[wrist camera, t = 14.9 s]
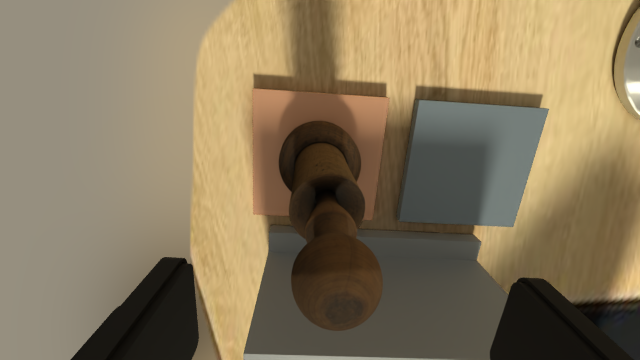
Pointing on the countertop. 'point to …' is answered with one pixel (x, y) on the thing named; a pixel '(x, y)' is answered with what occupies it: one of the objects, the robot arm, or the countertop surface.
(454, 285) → the upright grey panel
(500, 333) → the robot arm
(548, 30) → the countertop surface
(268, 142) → the tile terracotta
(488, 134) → the mat bluegrey
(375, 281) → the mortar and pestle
